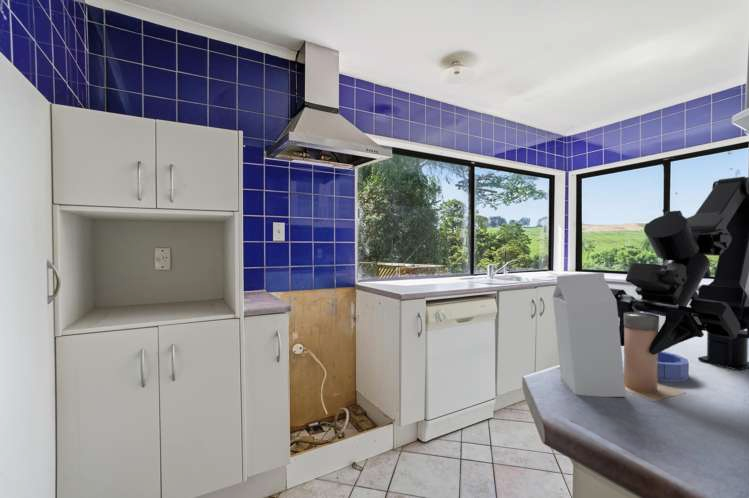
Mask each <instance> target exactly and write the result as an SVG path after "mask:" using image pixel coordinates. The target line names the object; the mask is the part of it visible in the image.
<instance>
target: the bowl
mask: <svg viewBox="0 0 749 498" xmlns="http://www.w3.org/2000/svg"><path fill="white" fill-rule="evenodd" d="M689 364H690V363H689V360H688V358H685V357H684V356H680V355H679V354H675V353H671V352H669V351H668V352H667V351H665V350H663V351H661V352H659V353H658V381H663V382H674V383H677V382H685V381H688V379H689V378H690V377H689V375H690V374H689V371H690V370H689Z"/></svg>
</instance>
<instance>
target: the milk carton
mask: <svg viewBox="0 0 749 498" xmlns="http://www.w3.org/2000/svg"><path fill="white" fill-rule="evenodd" d="M552 302H553V311H554V321H555V322H554V323H555V332H556V340H557V355H558V363H559V364H558V365H559V373H560V379H561V380H562V381H563V382H564V383H565V384H566V386H567V387H568V388H569V389H570V390H571V392H573V394H574V395H576V396H577V395H578V396H588V397H601V398H603V397H606V398H610V397H611V398H612V397H613V398H616V397H619V398H620V397H626V396H627V395H626V394H627V393H626V392H627V391H625V382H624V361H623V355H622V354H623V353H622V346H621V342H620V331H619V325H620V320H619V317H618V311H617V300H616V299H615V297H614V295H613V293H612V291H611V290H610V286H609V284H608V282H607V281H606V279H605V273H604V272H595V273H584V274H583V273H581V274H569V275H565V274H564V275H558V276H556V286H555V289H554V292H553V295H552Z"/></svg>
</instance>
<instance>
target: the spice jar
mask: <svg viewBox="0 0 749 498" xmlns="http://www.w3.org/2000/svg"><path fill="white" fill-rule="evenodd" d="M659 330H660V315H654V314H648V313H643V312H640V313H639V312H625V313H624V346H623V372H624V382H625V386H626V387H628V388H630V389H632V390H635V391H639V392H645V393H655V392H657V391H658V381H659V380H658V353H657V354H655V355H653V354H651V353H650V352H649V348H650V346H651V344H652V342H653V340H654V338H655V337H656V335H657V334H658V332H659Z"/></svg>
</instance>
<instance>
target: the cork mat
mask: <svg viewBox="0 0 749 498" xmlns="http://www.w3.org/2000/svg"><path fill="white" fill-rule="evenodd" d="M625 392H628V393H631V394H632V395H633V394H634V395H637V396H639V397H641V398H644V399H646V400H649V401H651V402H656V401H660V400H665V399H668V398H672V397H676V396H679V395H680V396H681V395H683V394H686V392H685V391H682V390H679V389H676V388H673V387H670V386H669V385H668V386H667V385H664V384H661V383H658V391H657V392H655V393H645V392H639V391H635V390H632V389H630V388H628V387H626V386H625Z"/></svg>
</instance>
